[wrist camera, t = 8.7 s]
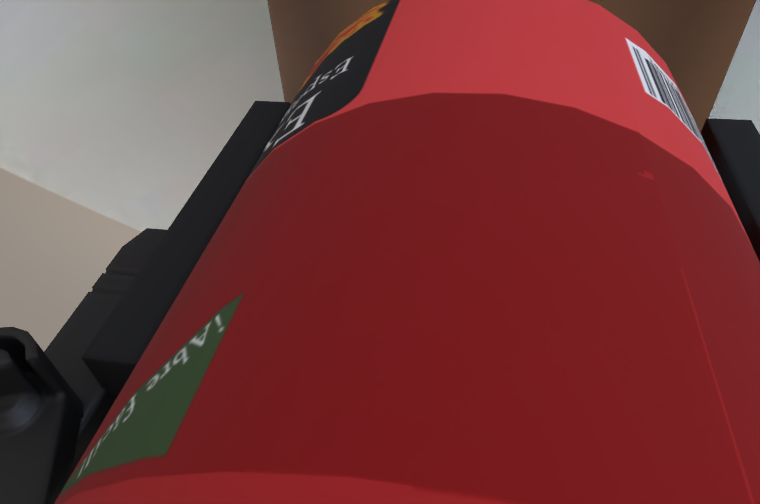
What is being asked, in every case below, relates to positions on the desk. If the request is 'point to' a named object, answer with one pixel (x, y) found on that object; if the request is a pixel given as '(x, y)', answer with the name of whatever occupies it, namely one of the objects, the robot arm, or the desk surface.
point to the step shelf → (629, 3)
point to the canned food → (459, 287)
